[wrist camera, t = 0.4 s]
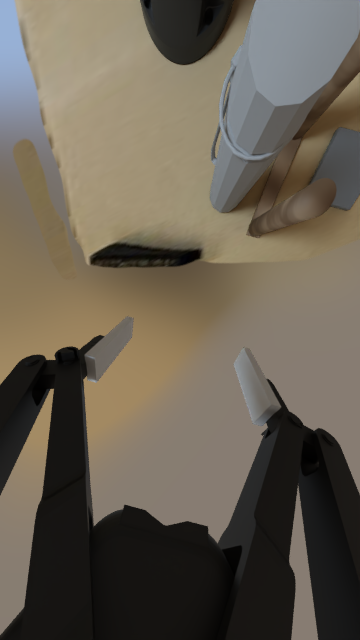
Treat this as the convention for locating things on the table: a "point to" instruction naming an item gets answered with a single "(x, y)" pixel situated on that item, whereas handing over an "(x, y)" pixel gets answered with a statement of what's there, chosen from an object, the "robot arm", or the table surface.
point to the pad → (342, 167)
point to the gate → (314, 195)
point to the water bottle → (276, 86)
